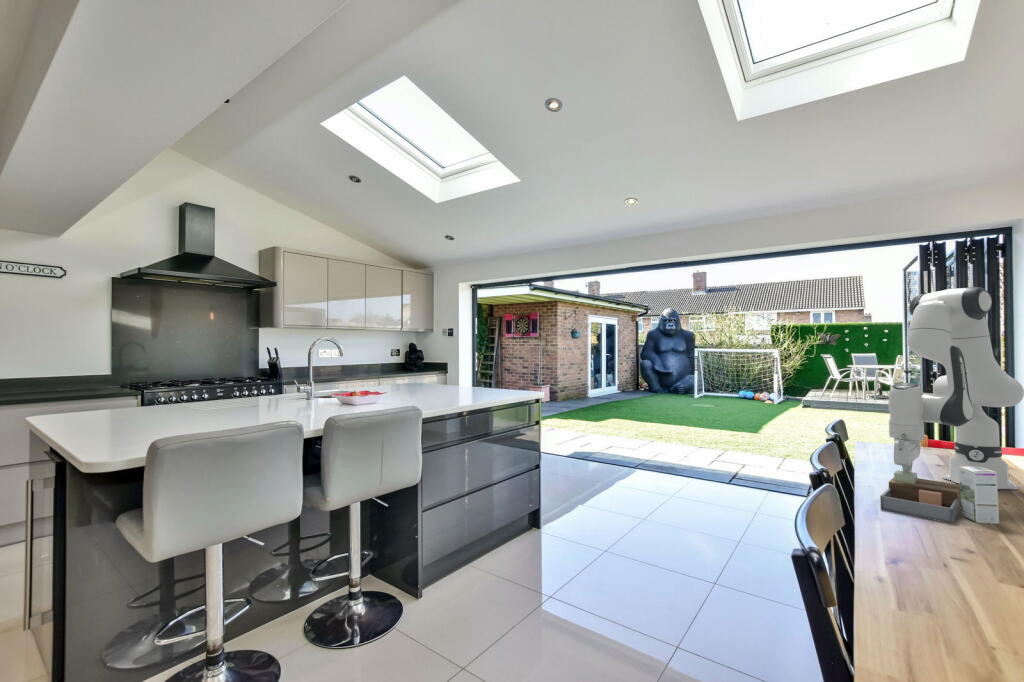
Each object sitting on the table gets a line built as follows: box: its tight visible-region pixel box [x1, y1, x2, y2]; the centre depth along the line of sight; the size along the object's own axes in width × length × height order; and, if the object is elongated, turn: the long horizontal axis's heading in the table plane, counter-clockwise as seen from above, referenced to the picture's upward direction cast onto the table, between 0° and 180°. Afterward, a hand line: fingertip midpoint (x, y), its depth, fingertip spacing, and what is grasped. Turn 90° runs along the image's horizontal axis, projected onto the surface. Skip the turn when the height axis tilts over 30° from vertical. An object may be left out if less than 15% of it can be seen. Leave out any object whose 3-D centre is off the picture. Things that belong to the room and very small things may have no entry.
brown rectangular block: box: [888, 477, 961, 513], centre depth 147 cm, size 12×16×6 cm
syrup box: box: [959, 466, 1000, 525], centre depth 132 cm, size 6×6×14 cm
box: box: [880, 487, 959, 524], centre depth 139 cm, size 12×16×4 cm
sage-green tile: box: [893, 469, 918, 484], centre depth 151 cm, size 5×5×2 cm
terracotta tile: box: [919, 489, 942, 506], centre depth 140 cm, size 5×5×2 cm
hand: (907, 475), depth 153 cm, fingers closed
